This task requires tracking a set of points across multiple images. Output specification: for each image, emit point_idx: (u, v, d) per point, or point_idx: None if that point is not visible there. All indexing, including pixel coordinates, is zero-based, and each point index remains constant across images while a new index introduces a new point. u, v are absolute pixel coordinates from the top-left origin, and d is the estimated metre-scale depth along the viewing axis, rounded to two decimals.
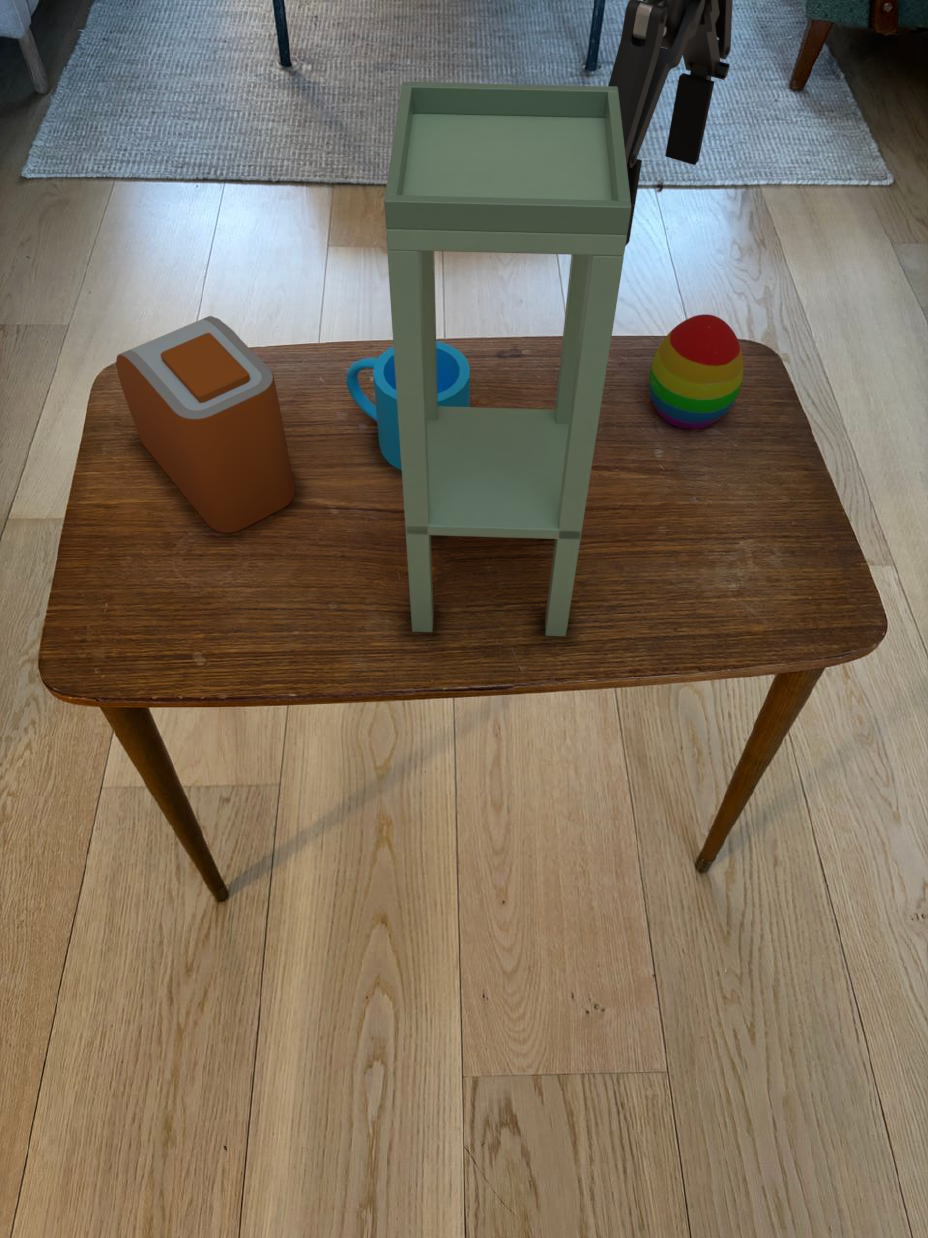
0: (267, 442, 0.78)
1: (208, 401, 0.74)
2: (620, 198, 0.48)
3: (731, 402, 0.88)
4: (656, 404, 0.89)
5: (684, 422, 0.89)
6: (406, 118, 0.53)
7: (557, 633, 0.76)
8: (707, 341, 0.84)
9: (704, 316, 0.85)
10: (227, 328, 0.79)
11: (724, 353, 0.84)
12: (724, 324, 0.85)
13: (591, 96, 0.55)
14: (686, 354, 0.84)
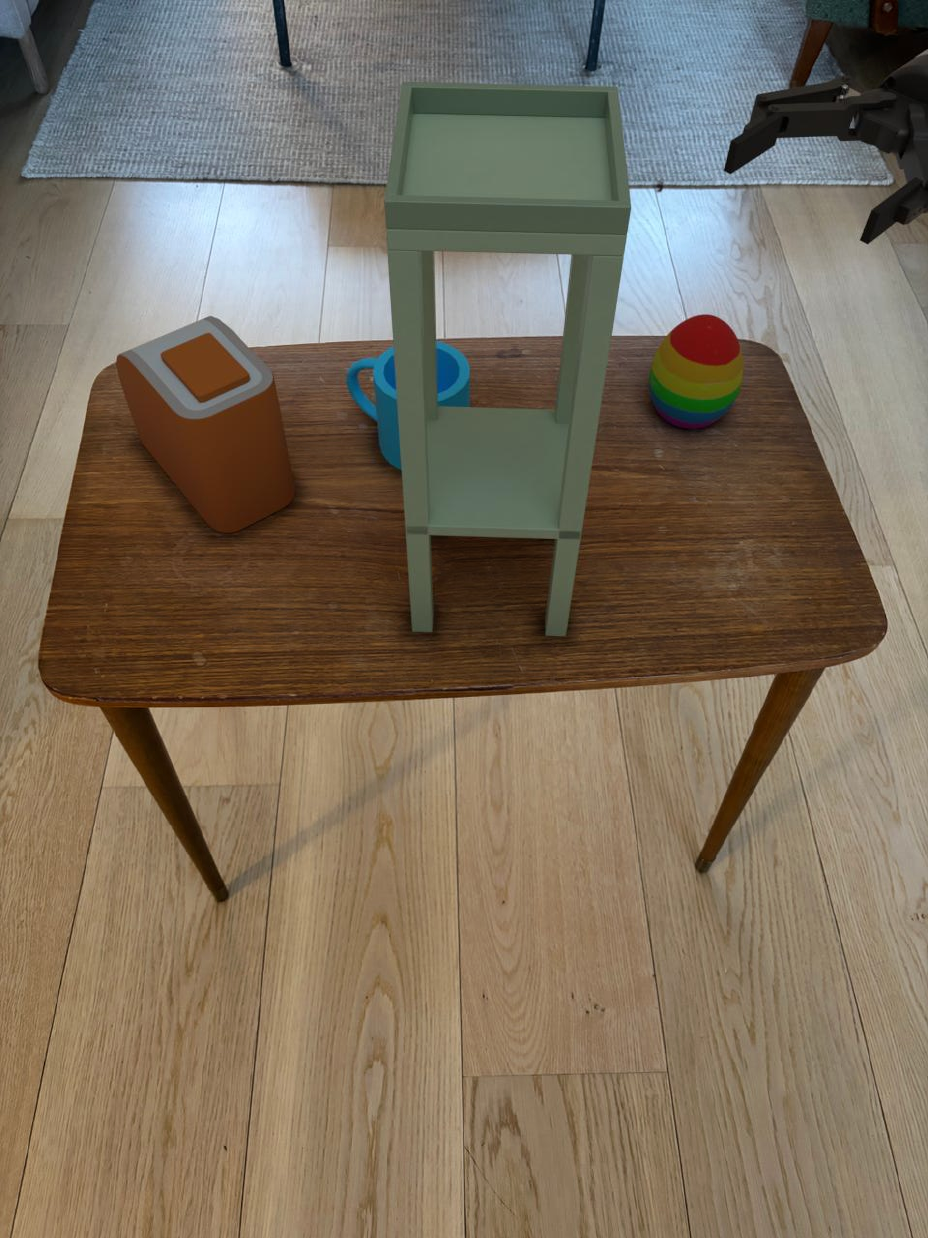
0: (267, 442, 0.78)
1: (208, 401, 0.74)
2: (620, 198, 0.48)
3: (731, 402, 0.88)
4: (656, 404, 0.89)
5: (684, 422, 0.89)
6: (406, 118, 0.53)
7: (557, 633, 0.76)
8: (707, 341, 0.84)
9: (704, 316, 0.85)
10: (227, 328, 0.79)
11: (724, 353, 0.84)
12: (724, 324, 0.85)
13: (591, 96, 0.55)
14: (686, 354, 0.84)
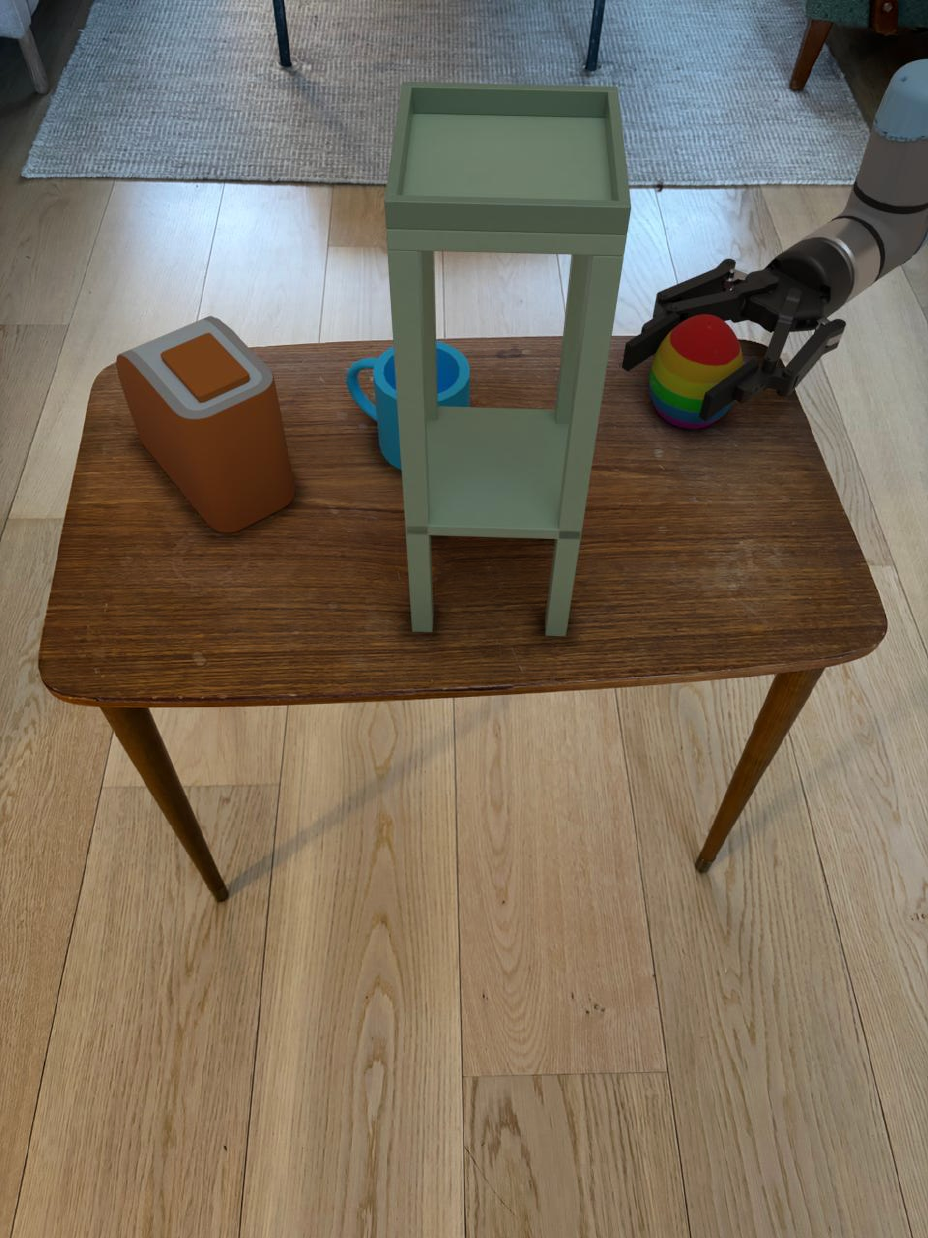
0: (267, 442, 0.78)
1: (208, 401, 0.74)
2: (620, 198, 0.48)
3: None
4: (656, 404, 0.89)
5: (684, 422, 0.89)
6: (406, 118, 0.53)
7: (557, 633, 0.76)
8: (707, 341, 0.84)
9: (704, 316, 0.85)
10: (227, 328, 0.79)
11: (724, 353, 0.84)
12: (724, 324, 0.85)
13: (591, 96, 0.55)
14: (686, 354, 0.84)
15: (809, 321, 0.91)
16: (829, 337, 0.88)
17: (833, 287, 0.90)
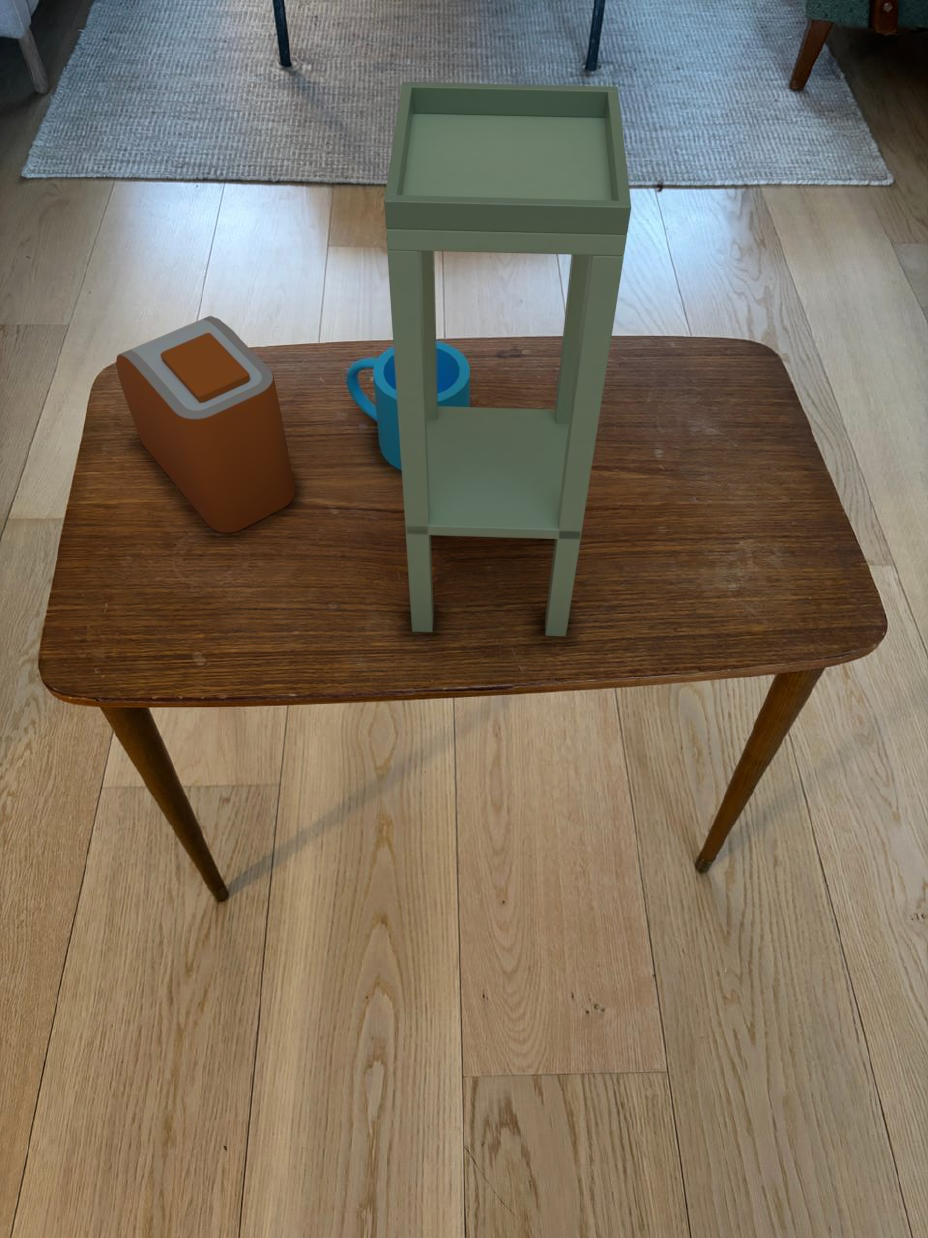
0: (267, 442, 0.78)
1: (208, 401, 0.74)
2: (620, 198, 0.48)
3: None
4: None
5: None
6: (406, 118, 0.53)
7: (557, 633, 0.76)
8: None
9: None
10: (227, 328, 0.79)
11: None
12: None
13: (591, 96, 0.55)
14: None
15: None
16: None
17: None
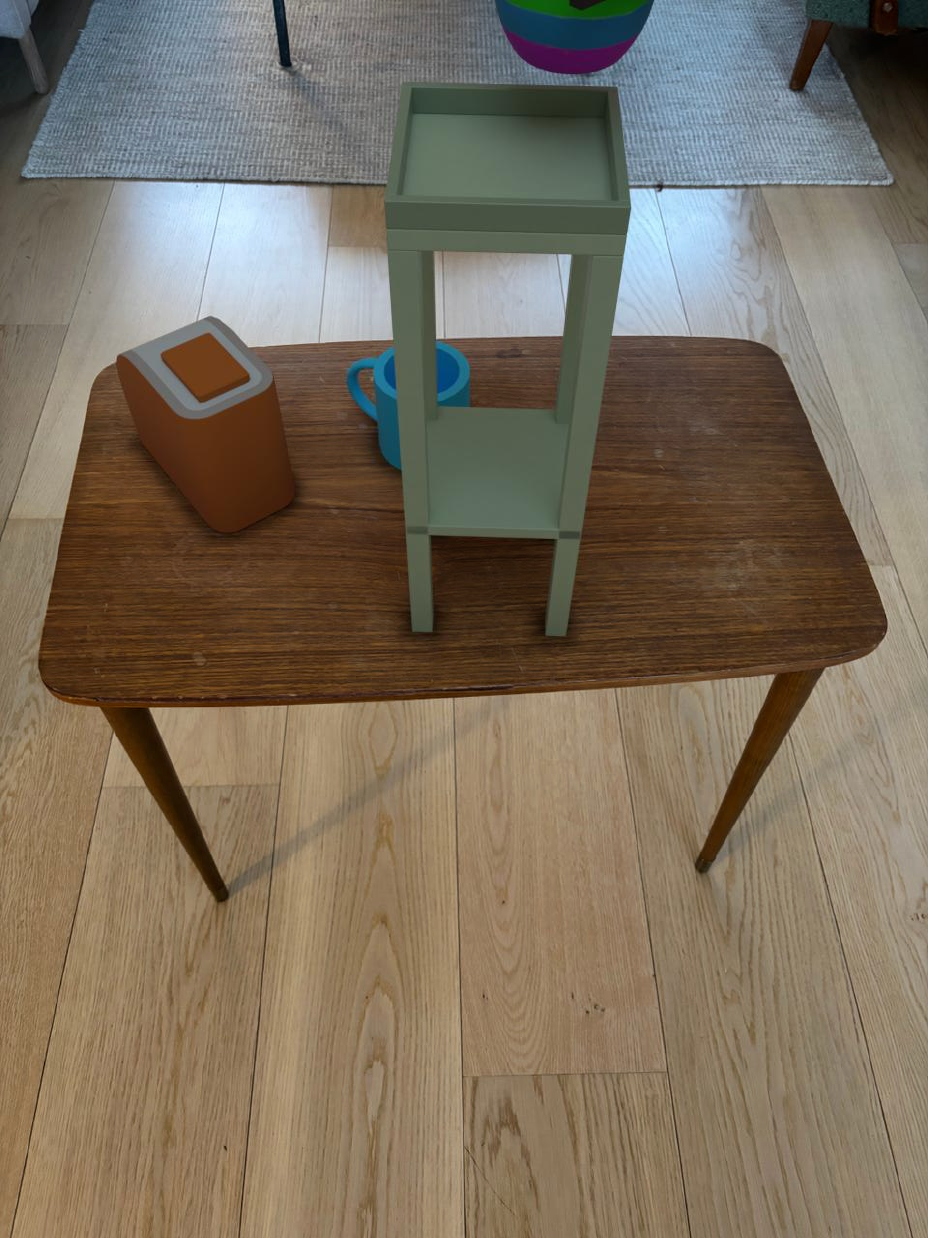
0: (267, 442, 0.78)
1: (208, 401, 0.74)
2: (620, 198, 0.48)
3: (640, 4, 0.47)
4: (504, 21, 0.49)
5: (554, 51, 0.48)
6: (406, 118, 0.53)
7: (557, 633, 0.76)
8: None
9: None
10: (227, 328, 0.79)
11: None
12: None
13: (591, 96, 0.55)
14: None
15: None
16: None
17: None
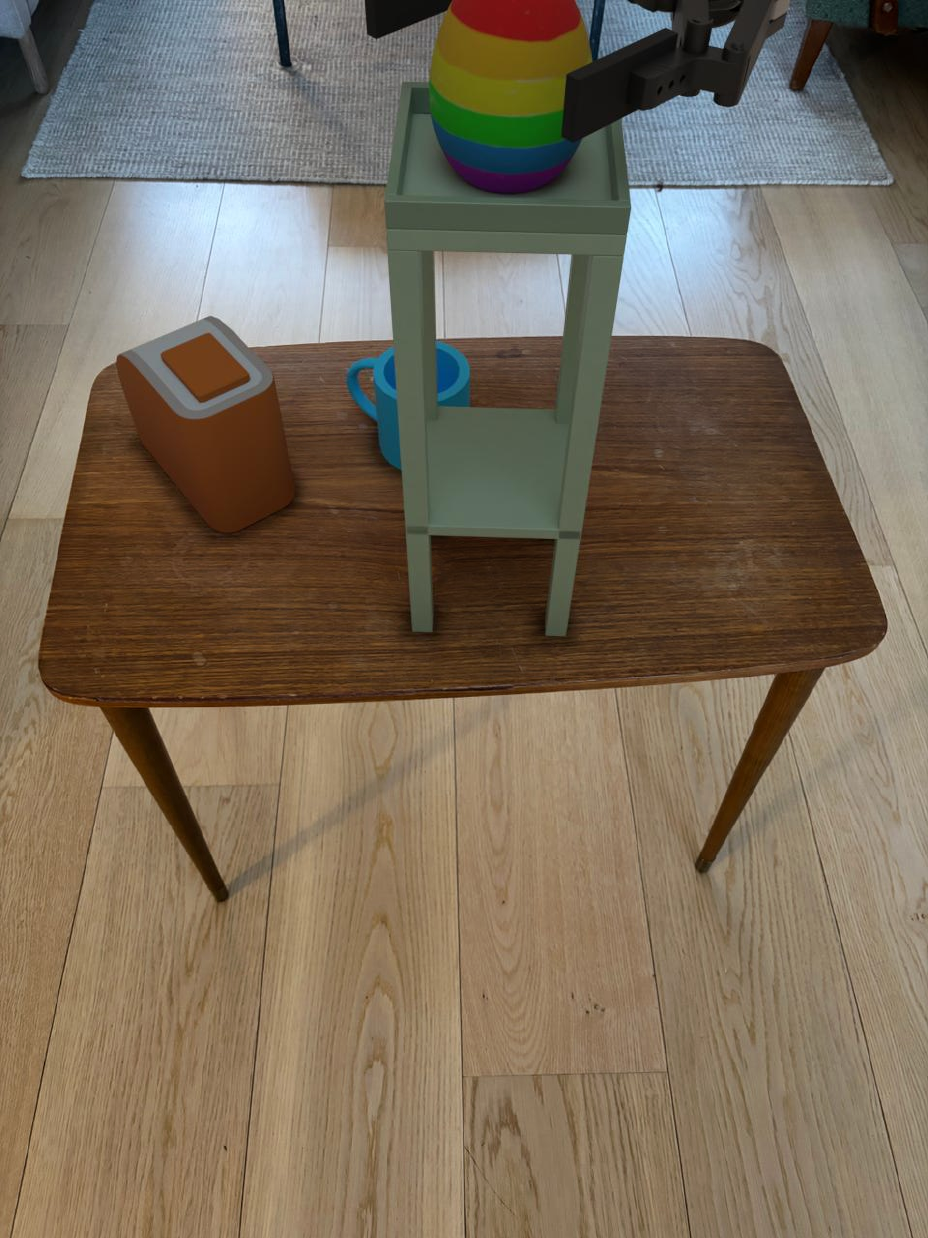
0: (267, 442, 0.78)
1: (208, 401, 0.74)
2: (620, 198, 0.48)
3: None
4: (442, 144, 0.50)
5: (490, 175, 0.49)
6: (406, 118, 0.53)
7: (557, 633, 0.76)
8: None
9: None
10: (227, 328, 0.79)
11: (545, 16, 0.44)
12: None
13: None
14: (474, 21, 0.45)
15: None
16: None
17: None
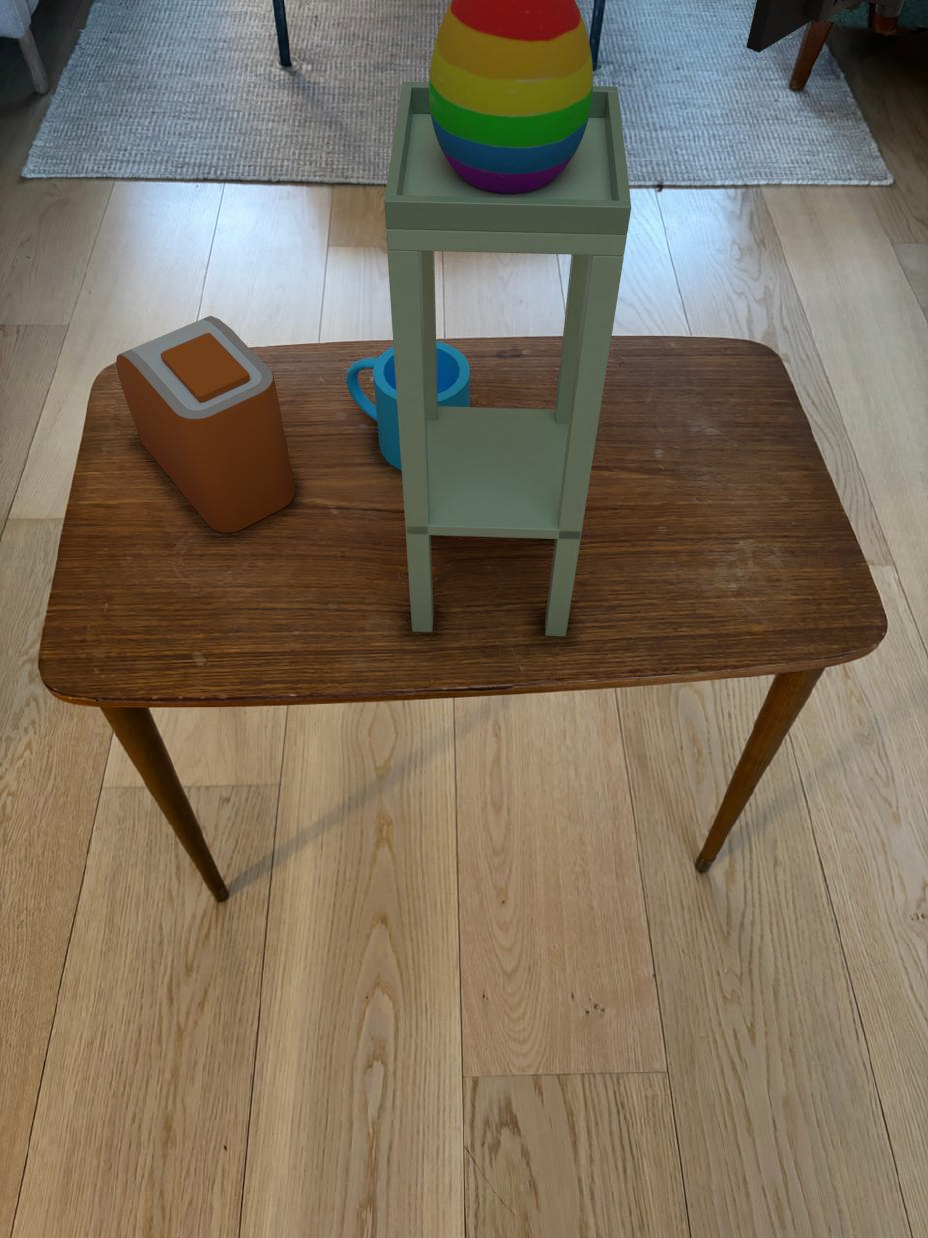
0: (267, 442, 0.78)
1: (208, 401, 0.74)
2: (620, 198, 0.48)
3: (571, 132, 0.48)
4: (442, 144, 0.50)
5: (490, 175, 0.49)
6: (406, 118, 0.53)
7: (557, 633, 0.76)
8: None
9: None
10: (227, 328, 0.79)
11: (544, 15, 0.44)
12: None
13: None
14: (474, 21, 0.45)
15: None
16: None
17: None
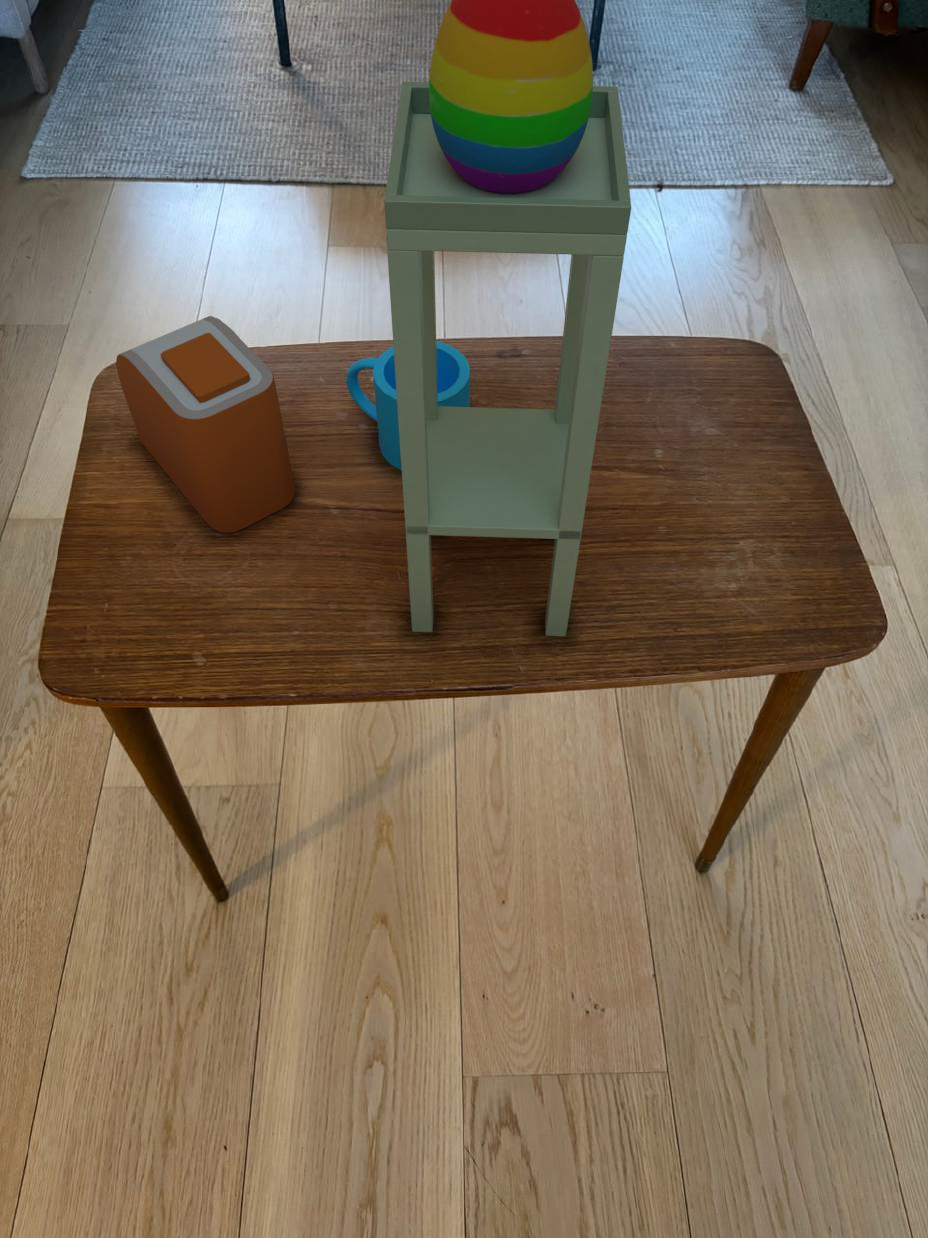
0: (267, 442, 0.78)
1: (208, 401, 0.74)
2: (620, 198, 0.48)
3: (571, 132, 0.48)
4: (442, 144, 0.50)
5: (490, 175, 0.49)
6: (406, 118, 0.53)
7: (557, 633, 0.76)
8: None
9: None
10: (227, 328, 0.79)
11: (544, 15, 0.44)
12: None
13: None
14: (474, 21, 0.45)
15: None
16: None
17: None
